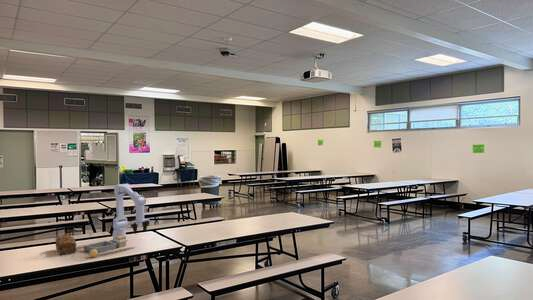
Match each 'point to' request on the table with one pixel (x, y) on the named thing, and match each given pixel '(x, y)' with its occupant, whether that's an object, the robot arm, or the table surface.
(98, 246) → the bin
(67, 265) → the table surface
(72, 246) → the bread
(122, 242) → the carton
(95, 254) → the egg
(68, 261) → the table surface
